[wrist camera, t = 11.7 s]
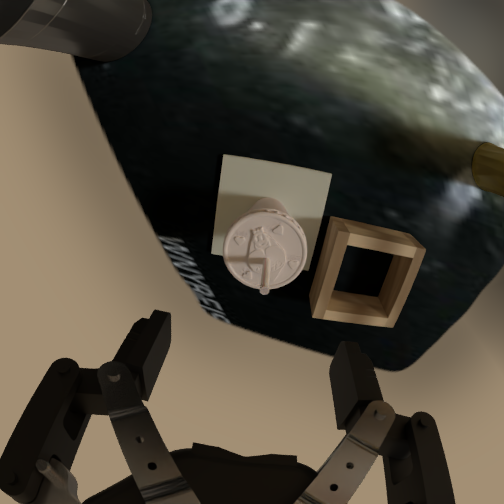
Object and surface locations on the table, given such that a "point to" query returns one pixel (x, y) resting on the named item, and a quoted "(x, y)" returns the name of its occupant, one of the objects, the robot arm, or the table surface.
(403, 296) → the sleeve
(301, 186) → the mat
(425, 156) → the table surface
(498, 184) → the vase
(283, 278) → the smoothie
